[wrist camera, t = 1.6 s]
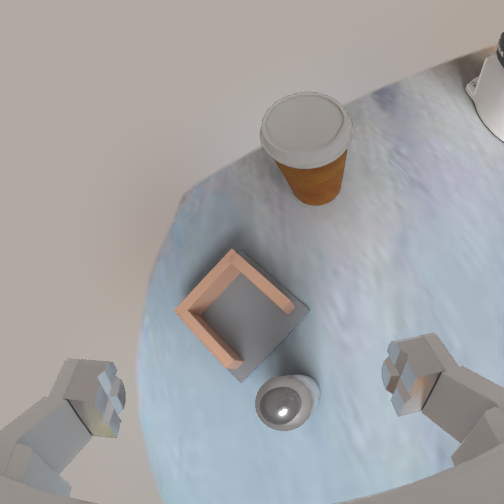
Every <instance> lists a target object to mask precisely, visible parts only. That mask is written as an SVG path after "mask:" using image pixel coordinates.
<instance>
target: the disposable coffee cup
mask: <svg viewBox="0 0 504 504" xmlns="http://www.w3.org/2000/svg"><path fill="white" fill-rule="evenodd" d="M352 137H353V123H352V120H351V118H350V116H349V115H348V113H347V112H346V111H345V109H344V107H343V106H342V105H341V104H340V103H339V102H338V101H337V100H335V99H334V98H332V97H330V96H327V95H324V94H321V93H316V92H301V93H295V94H292V95H289V96H286V97H284V98H282V99H280V100H278V101H277V102H275V103H274V104H273V105H272V106H271V107H270V108H269V109H268V110H267V112H266V113H265V115H264V117H263V120H262V126H261V130H260V140H261V144H262V146H263V148H264V149H265V151H266V152H267V153H268V154H269V156H271V157H272V158H274V159H275V161H276V163H277V165H278V166H279V168H280V169H281V171H282V173H283V175H284V177H285V178H286V180H287V182H288V184H289V185H290V187H291V189H292V190H293V192H294V194H295V196H296V197H297V198H298V199H299V200H300V201H302V202H303V203H306V204H308V205H323V204H326V203H328V202H330V201H332V200H333V199H334V198H335V197H336V196H337V195H338V193H339V191H340V188H341V182H342V177H343V171H344V165H345V160H346V154H347V148H348V146H349V144H350V142H351V140H352Z"/></svg>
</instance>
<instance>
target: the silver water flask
mask: <svg viewBox="0 0 504 504" xmlns="http://www.w3.org/2000/svg"><path fill="white" fill-rule="evenodd" d="M319 400H320V388H319V386H318V384H317V383H316V381H315V380H314V379H312V378H311V377H309V376H307V375H302V374H298V375H288V376H279V377H275V378H272V379H270V380H268V381H267V382H266V383H264V384H263V385H262V387H261V388H260V389H259V391H258V393H257V396H256V401H255V406H256V411H257V414H258V416H259V418H260V419H261V421H262V422H263V423H264V424H266V425H267V426H268V427H270V428H272V429H275V430H279V431H289V430H293V429H296V428H298V427H299V426H301V425H302V424H303V423H305V421H306V420H307V419H308V418H309V416H310V415H311V413H312V412H313V410H314V409H315V407H316V406H317V404H318V402H319Z"/></svg>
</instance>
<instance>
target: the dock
mask: <svg viewBox="0 0 504 504" xmlns="http://www.w3.org/2000/svg"><path fill="white" fill-rule="evenodd" d="M174 311H175V313H176V314H177V315H178V316H179V317H180V318H181V319H182V321H183V322H184V323H185V324H186V325H187V326H188V327H189V329H190V330H191V331H192V332H193V333H194V334H195V335H196V336H197V338H198V339H199V340H200V341H201V342H202V343H203V344H204V345H205V346H206V347H207V349H208V350H209V351H210V352H211V353H212V354H213V355H214V356H215V357H216V358H217V359H218V360H219V361H220V362H221V364H222V365H223V366H224V367H225V368H227V369H228V370H229V371H230V372H231V374H232V375H233V376H234V377H235V378H236V379H237V380H238V381H239V382H240V383H242V382H243V381H244V380H245V379H246V378H247V377H248V376H249V375H250V374H251V373H252V372H253V371H254V370H255V369H256V368H257V367H258V366H259V365H260V364H261V363H262V362H263V361H264V360H265V359H266V358H267V357H268V356H269V355H270V353H271V352H272V351H273V350H274V349H275V348H276V347H277V346H278V345H279V344H280V343H281V342H282V341H283V340H284V339H285V338H286V337H287V336H288V335H289V333H290V332H291V331H292V330H293V329H294V328H295V327H296V326H297V325H298V324H299V323H300V322H301V320H302V319H303V318H304V317H305V316H306V315H307V314H308V313H309V312H310V310H309V309H308V308H307V307H306V306H304V305H303V304H302V303H301V302H300V301H299V300H298V299H296V298H295V297H294V296H293V295H292V294H291V293H290V292H288V291H287V290H286V289H285V288H284V287H283V286H282V285H280V284H279V283H278V282H277V281H276V280H275V279H274V278H272V277H271V276H270V275H269V274H268V273H267V272H266V271H264V270H263V269H262V268H261V267H260V266H259V265H258V264H256V263H255V262H254V261H253V260H252V259H251V258H250V257H249V256H247V255H246V254H245V253H244V252H243V251H242V250H241V251H240V252H239V253H236V252H235V251H234V250H233V249H231V250H230V251H229V252H228V253H227V254H226V255H225V256H224V257H223V258H222V259H221V260H220V261H219V262H218V263H217V265H216V266H215V267H214V268H213V269H212V270H211V271H210V272H209V273H208V274H207V275H206V276H205V277H204V278H203V280H202V281H201V282H200V283H199V284H198V285H197V286H196V287H195V288H194V289H193V290H192V291H191V292H190V293H189V295H188V296H187V297H186V298H185V299H184V300H183V301H182V302H181V303H180V304H179V305H178V306H177V308H176V309H175V310H174Z"/></svg>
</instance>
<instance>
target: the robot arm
mask: <svg viewBox="0 0 504 504" xmlns="http://www.w3.org/2000/svg"><path fill="white" fill-rule="evenodd" d="M465 90H466V92H467V94H468V95H469V96H470V97H471V99H472V100H473V101H474V103H475V106H476V109H477V112H478V114H479V116H480V118H481V119H482V121H483V122H484V124H485V125H486V126H487V127H488V128H489V129H490V130H491V131H492V132H493V133H494V134H495V135H496V136H497V137H498V138H499V139H501V140H502V141H503V142H504V32H503V33H502V34H501V38H500V39H499V42H498V48H497V54H495V53H491V54H490V56H489V57H487V58H486V59H485V61H484V64H483V67H482V70H481V73H480V75H479V76H478V77H476V78H475V79H473V80H472V81H471V82H469V83H468V84H467V85H466V88H465ZM387 352H388V354H389V357H388V358H387V359H386V360H385V361H384V363H383V366H382V380H383V384H384V386H385V388H386V390H387V391H389V392H390V393H392V394H393V395H392V398H391V402H392V404H393V407H394V409H395V411H396V413H397V416H403V415H407V414H411V413H415V412H419V411H422V413H423V414H424V415H426V416H427V417H428V418H429V419H431V420H432V421H433V422H434V423H436V424H437V425H438V426H440V427H441V428H442V429H443V430H445V431H446V432H447V433H448V434H450V435H451V436H452V437H453V438H455V439H456V440H457V441H459V442H460V443H461V444H460V445H459V446H458V447H457V449H456V450H455V451H454V452H453V454H452V456H451V458H452V461H453V463H454V465H455V466H454V467H452V468H449V469H447V470H445V471H442V472H440V473H437V474H435V475H432V476H429V477H427V478H424V479H421V480H418V481H416V482H413V483H410V484H407V485H404V486H401V487H397V488H394V489H391V490H387V491H384V492H380V493H377V494H373V495H369V496H366V497H362V498H357V499H353V500H349V501H344V502H339V503H334V504H504V388H503V387H501V386H499V385H497V384H495V383H493V382H492V381H490V380H488V379H486V378H484V377H482V376H480V375H478V374H477V373H475V372H473V371H471V370H469V369H467V368H465V367H464V366H461V367H459V366H458V365H457V363H456V362H455V360H454V359H453V357H452V356H451V354H450V353H449V351H448V350H447V349H446V347H445V346H444V344H443V343H442V341H441V340H440V339H439V337H438V336H437V335H436V334H435V333H430V334H426V335H421V336H416V337H411V338H406V339H401V340H396V341H392V342H391V343H390V344H389V346H388V350H387ZM116 372H117V369H116V367H115V365H114V363H113V362H109V361H95V360H83V359H82V360H80V359H67V360H66V361H65V362H64V364H63V366H62V368H61V370H60V372H59V374H58V376H57V379H56V381H55V383H54V385H53V388H52V390H51V392H50V394H49V397H43V398H42V399H41V400H40V401H38V402H37V403H36V404H34V405H33V406H32V407H30V408H29V409H28V410H27V411H25V412H24V413H23V414H21V415H20V416H19V417H17V418H16V419H15V420H14V421H12V422H11V423H10V424H8V425H7V426H6V427H4V428H3V429H2V430H1V431H0V504H96V503H92V502H87V501H82V500H78V499H74V498H70V497H69V496H70V491H71V486H70V485H69V483H68V482H67V481H65V480H64V479H63V478H62V477H61V476H60V475H59V474H60V473H61V472H62V471H63V469H64V468H65V467H66V466H67V465H68V464H69V463H70V462H71V461H72V459H73V458H74V457H75V456H76V455H77V454H78V453H79V452H80V450H81V449H82V448H83V447H84V446H85V445H86V444H87V443H88V442H89V441H90V439H91V438H92V436H100V437H110V438H117V435H118V431H119V427H120V422H121V420H120V418H119V416H118V414H119V413H120V412H121V411H122V410H123V409H124V405H125V388H124V385H123V382H122V381H121V379H119V378H118V377H116V376H115V375H116Z"/></svg>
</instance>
